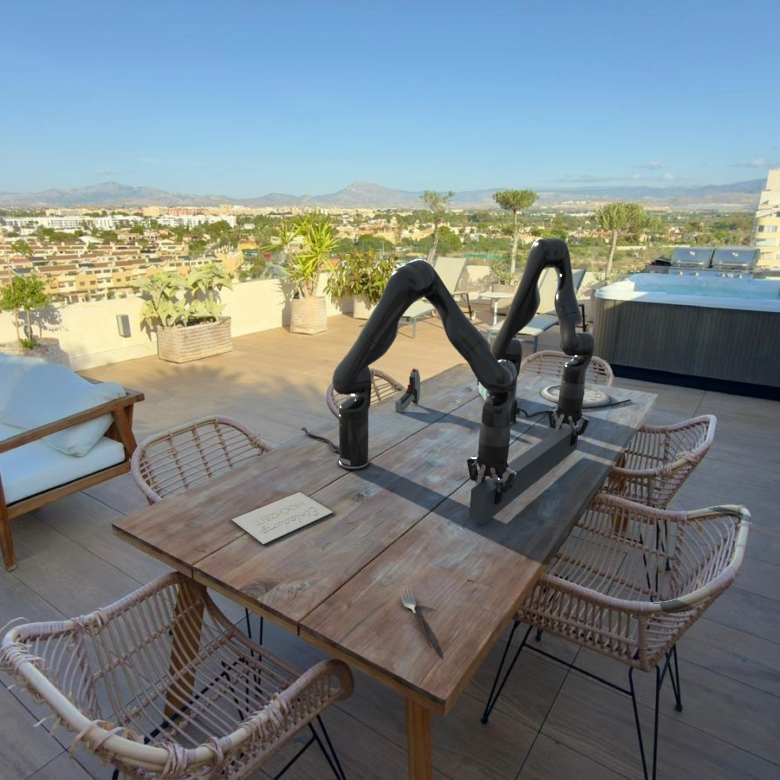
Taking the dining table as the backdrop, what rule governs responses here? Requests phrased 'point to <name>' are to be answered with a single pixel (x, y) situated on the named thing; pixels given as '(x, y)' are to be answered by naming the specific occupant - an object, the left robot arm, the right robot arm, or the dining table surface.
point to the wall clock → (589, 400)
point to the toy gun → (410, 392)
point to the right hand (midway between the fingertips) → (565, 442)
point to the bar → (522, 473)
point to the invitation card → (281, 517)
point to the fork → (411, 605)
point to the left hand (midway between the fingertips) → (489, 499)
